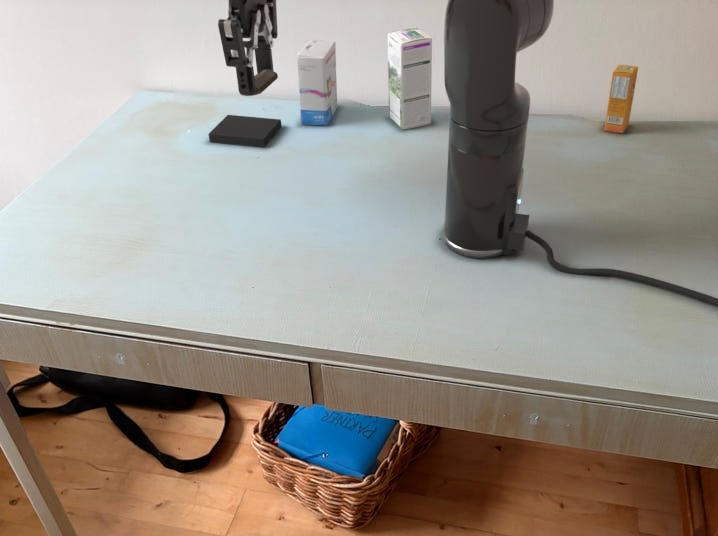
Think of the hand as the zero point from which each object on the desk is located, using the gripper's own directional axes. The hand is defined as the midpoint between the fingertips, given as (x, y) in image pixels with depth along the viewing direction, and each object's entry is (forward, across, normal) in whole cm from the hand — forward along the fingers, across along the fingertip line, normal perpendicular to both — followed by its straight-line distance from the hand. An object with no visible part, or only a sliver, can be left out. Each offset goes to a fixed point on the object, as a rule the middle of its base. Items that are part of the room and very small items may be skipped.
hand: (257, 84), depth 103 cm
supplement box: (+16, +31, -49) cm, 61 cm away
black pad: (+16, +17, +11) cm, 26 cm away
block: (+1, 0, 0) cm, 1 cm away
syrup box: (+16, +28, -15) cm, 36 cm away
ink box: (+16, +27, +1) cm, 31 cm away
